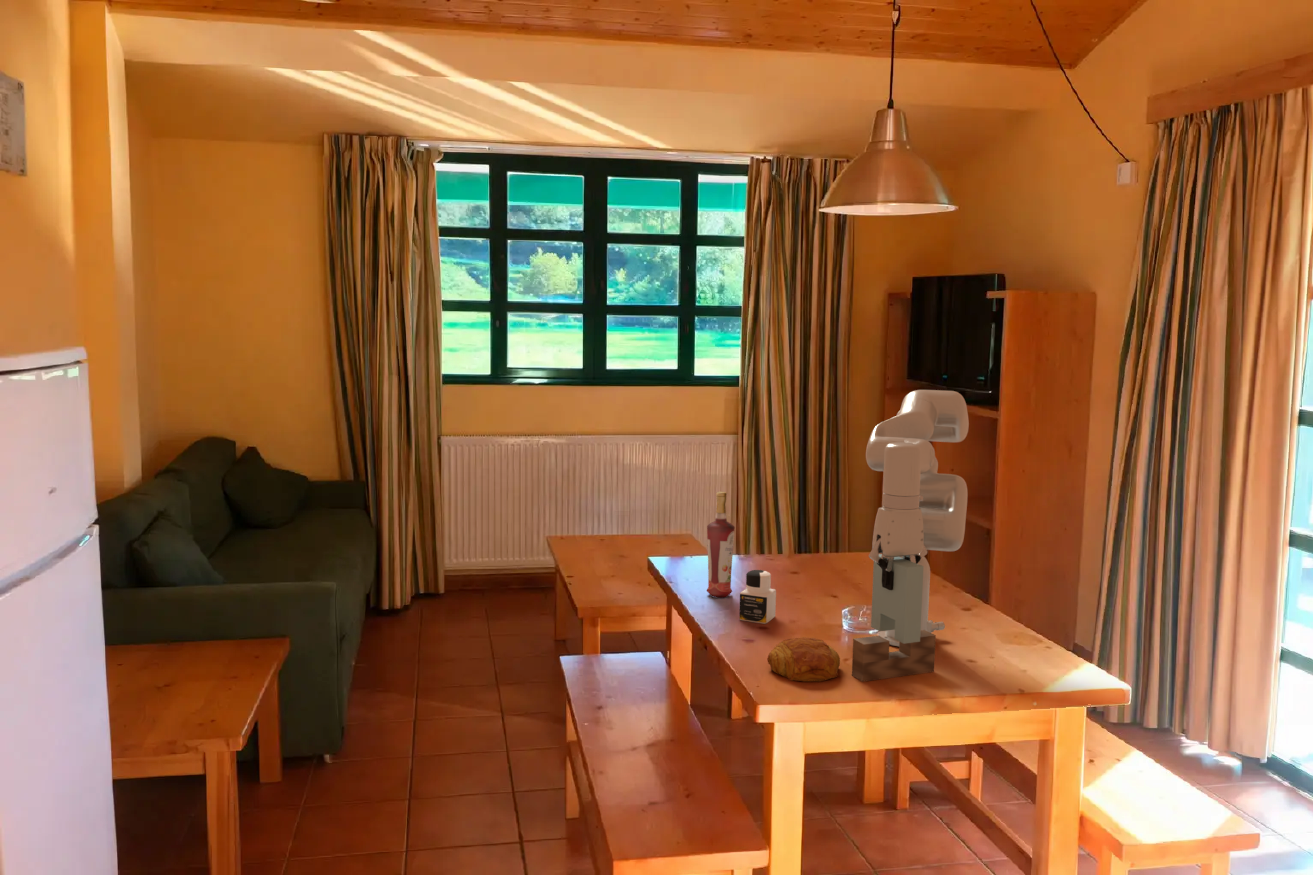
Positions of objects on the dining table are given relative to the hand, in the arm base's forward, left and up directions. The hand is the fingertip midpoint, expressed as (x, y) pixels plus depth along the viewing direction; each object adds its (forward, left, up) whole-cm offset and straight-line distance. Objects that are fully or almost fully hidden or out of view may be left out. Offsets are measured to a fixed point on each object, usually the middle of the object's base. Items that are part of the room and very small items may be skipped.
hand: (896, 586), depth 222 cm
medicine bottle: (+9, -45, -19) cm, 50 cm away
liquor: (+9, -67, -19) cm, 70 cm away
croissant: (+17, -7, -19) cm, 27 cm away
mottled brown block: (0, 0, -19) cm, 19 cm away
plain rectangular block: (0, 0, -10) cm, 10 cm away
